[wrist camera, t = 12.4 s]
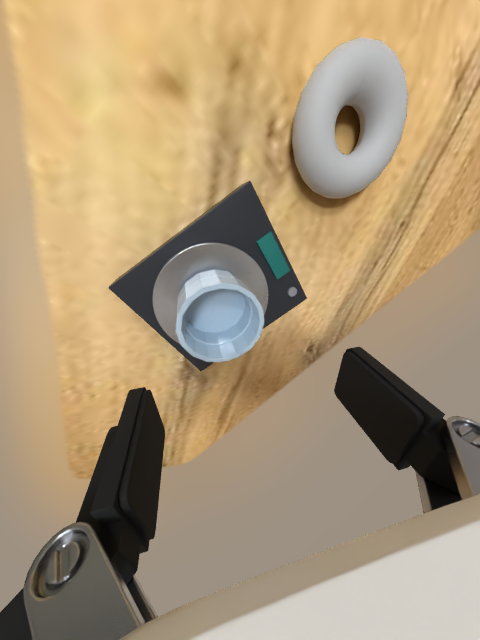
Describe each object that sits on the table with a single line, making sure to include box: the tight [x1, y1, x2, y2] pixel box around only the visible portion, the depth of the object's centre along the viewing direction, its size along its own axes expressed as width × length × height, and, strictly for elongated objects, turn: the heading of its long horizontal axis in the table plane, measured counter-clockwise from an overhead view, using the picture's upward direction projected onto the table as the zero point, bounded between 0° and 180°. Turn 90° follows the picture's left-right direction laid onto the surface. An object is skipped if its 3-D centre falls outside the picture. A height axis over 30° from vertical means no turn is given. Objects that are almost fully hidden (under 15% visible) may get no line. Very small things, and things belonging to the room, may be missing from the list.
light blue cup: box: [175, 269, 264, 362], centre depth 18 cm, size 7×7×4 cm
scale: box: [109, 181, 307, 371], centre depth 21 cm, size 15×13×3 cm
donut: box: [292, 37, 408, 198], centre depth 17 cm, size 10×4×10 cm
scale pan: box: [153, 242, 268, 344], centre depth 20 cm, size 11×11×1 cm
